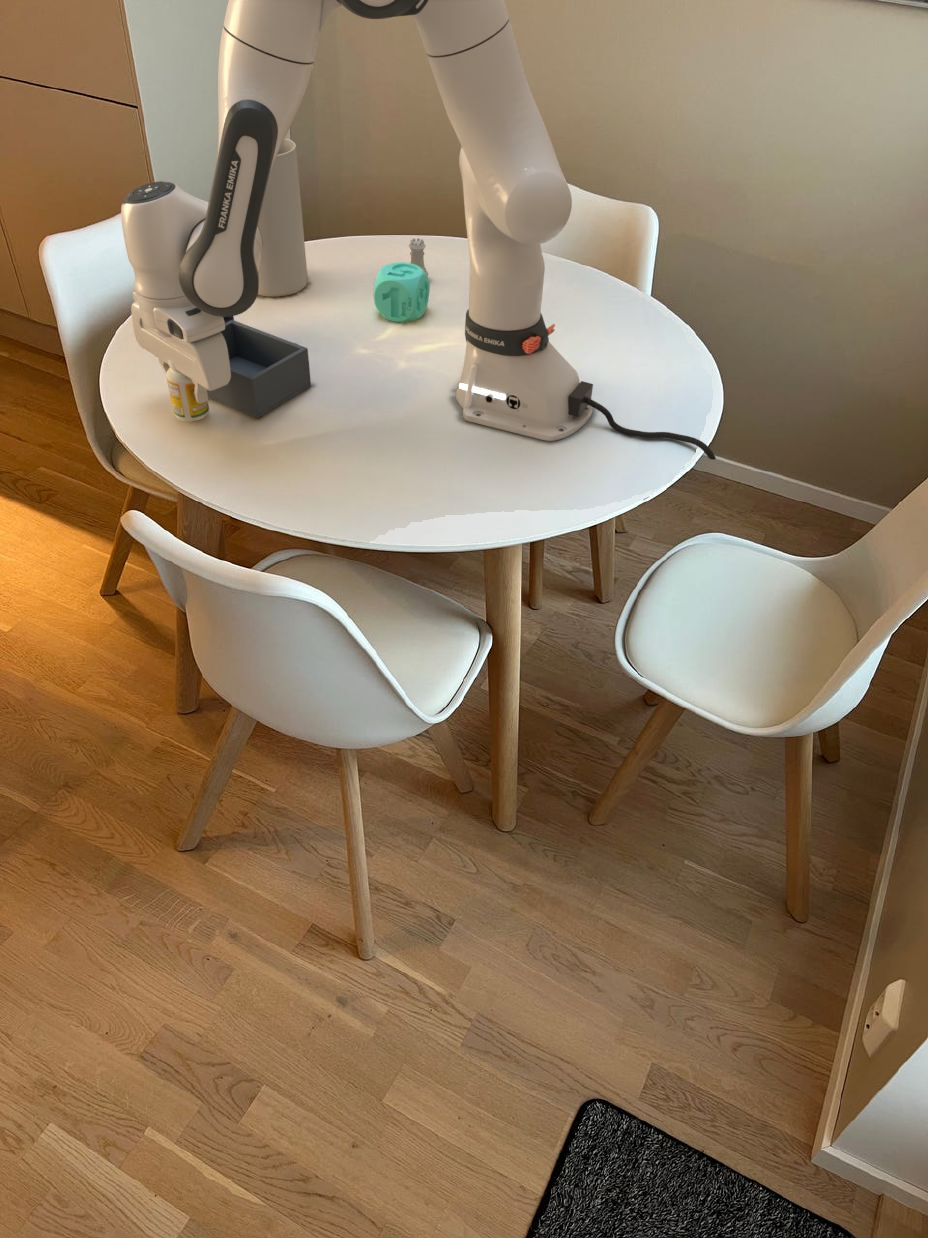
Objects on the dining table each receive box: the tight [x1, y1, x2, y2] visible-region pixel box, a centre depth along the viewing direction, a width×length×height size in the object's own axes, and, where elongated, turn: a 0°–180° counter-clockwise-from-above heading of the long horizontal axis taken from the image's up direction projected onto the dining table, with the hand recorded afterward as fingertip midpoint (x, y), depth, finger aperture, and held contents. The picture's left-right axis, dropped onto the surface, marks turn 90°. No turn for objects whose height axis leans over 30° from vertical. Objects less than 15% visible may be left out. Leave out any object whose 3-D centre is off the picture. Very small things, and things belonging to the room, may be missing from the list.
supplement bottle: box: [165, 359, 210, 422], centre depth 140 cm, size 5×5×10 cm
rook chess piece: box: [408, 237, 429, 277], centre depth 180 cm, size 4×4×8 cm
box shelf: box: [207, 319, 312, 419], centre depth 149 cm, size 17×13×7 cm
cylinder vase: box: [257, 137, 309, 298], centre depth 172 cm, size 12×12×25 cm
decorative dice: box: [373, 261, 431, 323], centre depth 170 cm, size 8×8×8 cm
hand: (188, 392), depth 141 cm, fingers closed on supplement bottle, 5 cm apart
